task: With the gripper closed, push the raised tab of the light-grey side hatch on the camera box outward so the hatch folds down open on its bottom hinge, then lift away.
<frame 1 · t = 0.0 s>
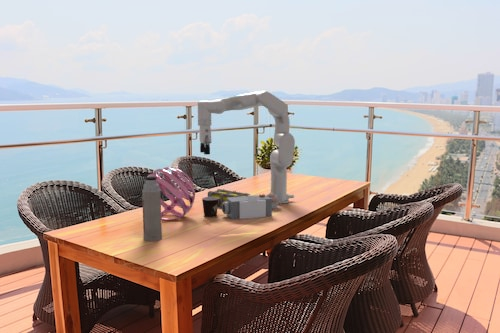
hand: (205, 153, 264), 31 cm above the table, tool pointing down, fingers open, 9 cm apart
spiral basket: (172, 217, 246), on the table
side door: (252, 207, 241), point 6 cm above the table, hinge at 0.0°
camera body: (248, 216, 248), on the table
cupcake: (270, 209, 264), on the table
coffee mug: (213, 217, 248), on the table
thermos bottle: (152, 239, 210), on the table
cage light: (229, 206, 273), on the table
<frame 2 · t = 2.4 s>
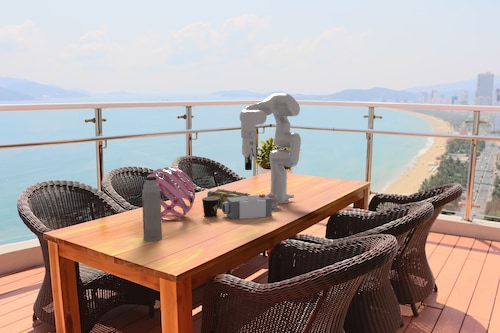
hand: (248, 169, 245), 25 cm above the table, tool pointing down, fingers closed
nothing on the table moved.
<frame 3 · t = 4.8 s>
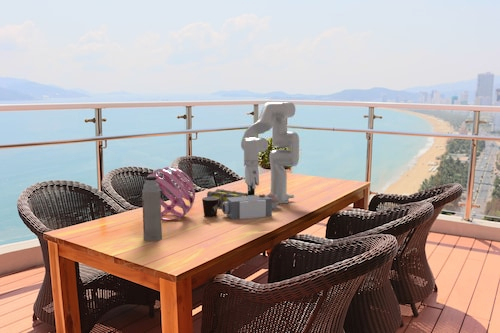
hand: (251, 198, 243), 11 cm above the table, tool pointing down, fingers closed
side door: (252, 207, 241), point 6 cm above the table, hinge at 0.9°, touching gripper
everything else where it was.
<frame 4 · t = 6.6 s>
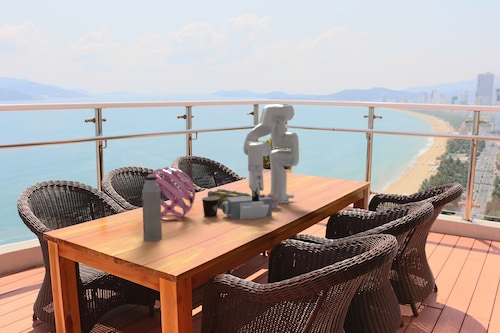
hand: (255, 203, 237), 9 cm above the table, tool pointing down, fingers closed
side door: (254, 210, 238), point 5 cm above the table, hinge at 34.8°, touching gripper
everything else where it was.
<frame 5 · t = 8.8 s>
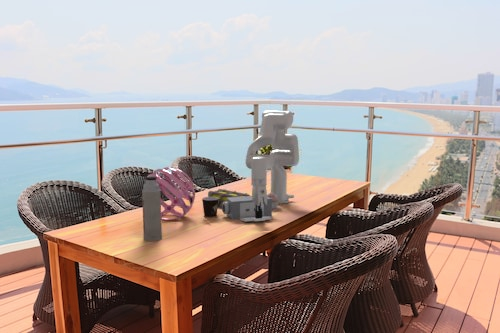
hand: (258, 218, 232), 3 cm above the table, tool pointing down, fingers closed
side door: (256, 218, 237), point 2 cm above the table, hinge at 79.5°, touching gripper
everything else where it was.
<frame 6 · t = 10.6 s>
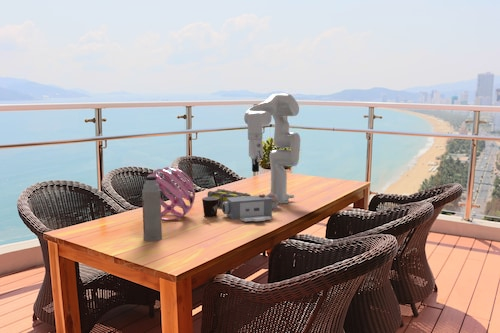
hand: (255, 171, 244), 24 cm above the table, tool pointing down, fingers closed
side door: (256, 218, 237), point 2 cm above the table, hinge at 79.5°
everything else where it was.
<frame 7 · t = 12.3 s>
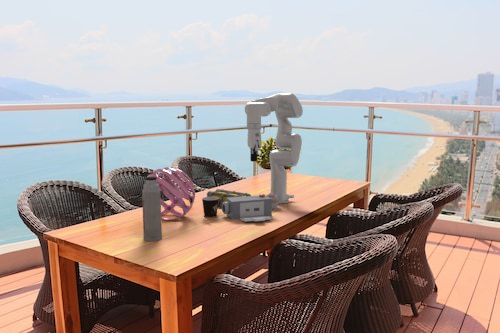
hand: (253, 161, 248), 29 cm above the table, tool pointing down, fingers closed
nothing on the table moved.
at the end: side door at +80° (first picture: +0°); side door touching nothing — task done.
